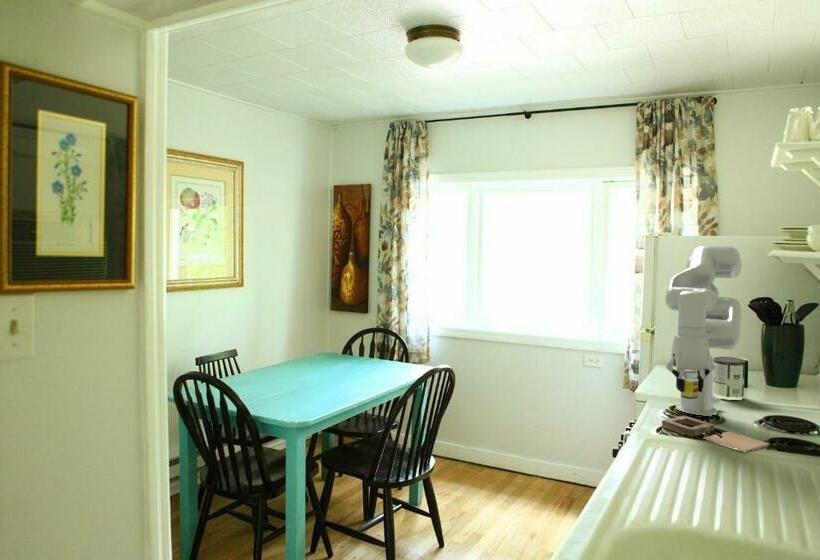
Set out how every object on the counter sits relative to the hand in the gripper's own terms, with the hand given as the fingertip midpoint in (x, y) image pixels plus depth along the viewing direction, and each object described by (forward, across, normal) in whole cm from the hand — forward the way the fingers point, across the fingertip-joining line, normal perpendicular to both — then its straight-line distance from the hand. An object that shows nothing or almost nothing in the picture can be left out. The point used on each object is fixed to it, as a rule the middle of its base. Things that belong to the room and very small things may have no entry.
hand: (689, 390), depth 182 cm
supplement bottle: (+3, 0, 0) cm, 3 cm away
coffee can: (+14, -30, -36) cm, 49 cm away
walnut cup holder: (+12, 0, +1) cm, 12 cm away
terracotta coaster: (+12, -8, +12) cm, 19 cm away
